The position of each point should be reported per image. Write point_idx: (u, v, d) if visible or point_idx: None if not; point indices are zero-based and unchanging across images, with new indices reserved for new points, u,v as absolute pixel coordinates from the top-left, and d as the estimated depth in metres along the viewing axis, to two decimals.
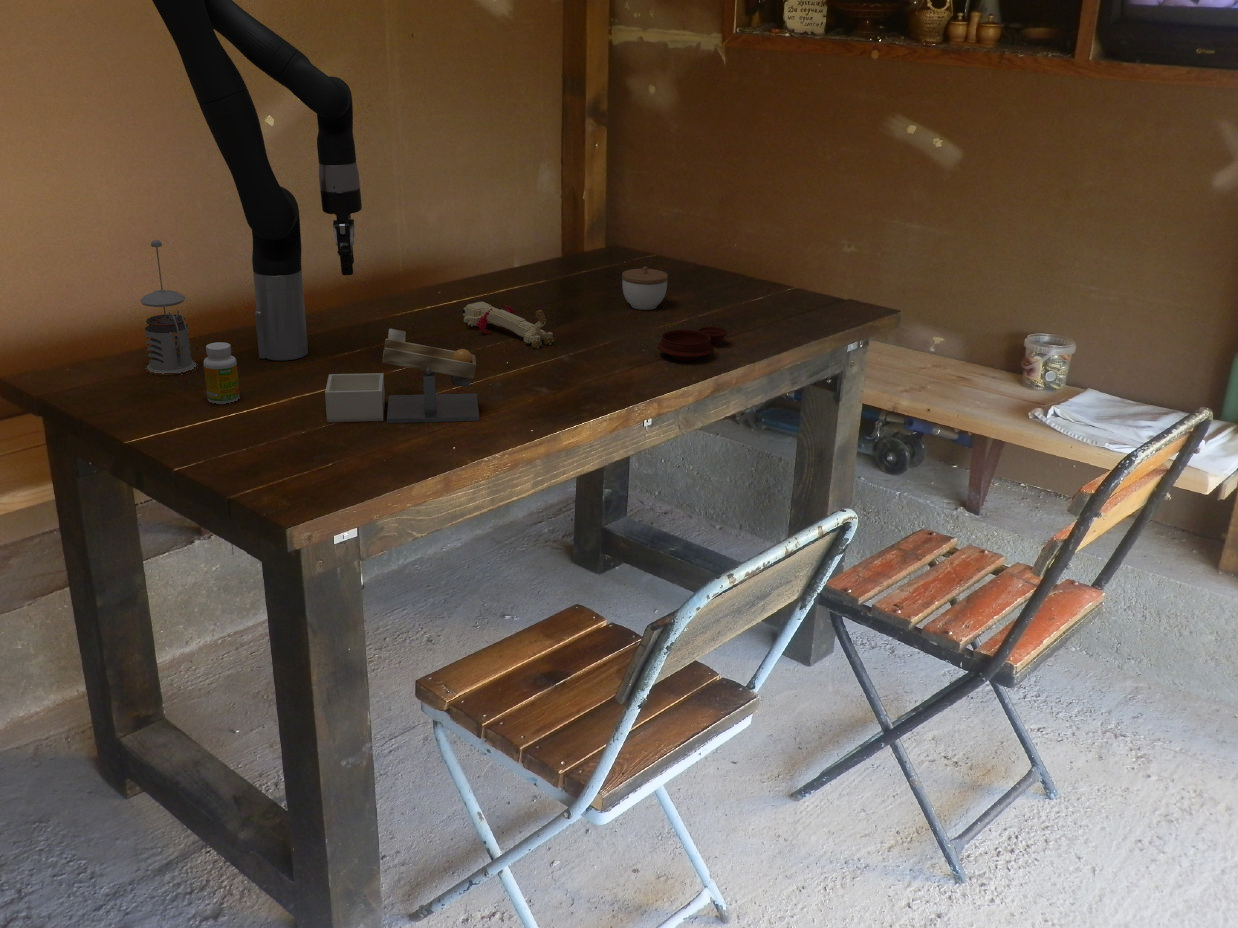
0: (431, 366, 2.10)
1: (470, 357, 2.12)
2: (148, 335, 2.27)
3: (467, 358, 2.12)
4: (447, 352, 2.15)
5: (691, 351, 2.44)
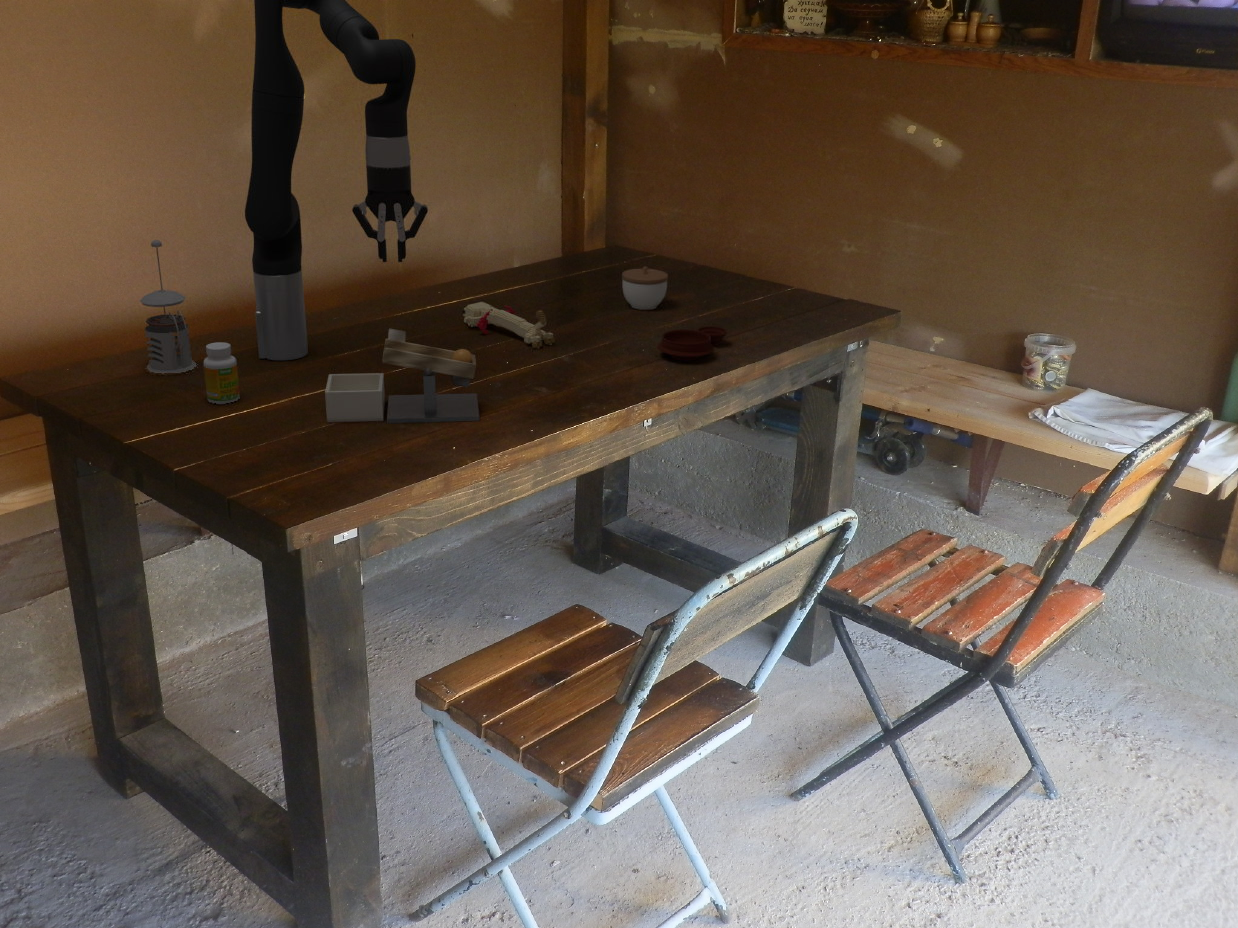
0: (431, 366, 2.10)
1: (470, 357, 2.12)
2: (148, 335, 2.27)
3: (467, 358, 2.12)
4: (447, 352, 2.15)
5: (692, 351, 2.44)
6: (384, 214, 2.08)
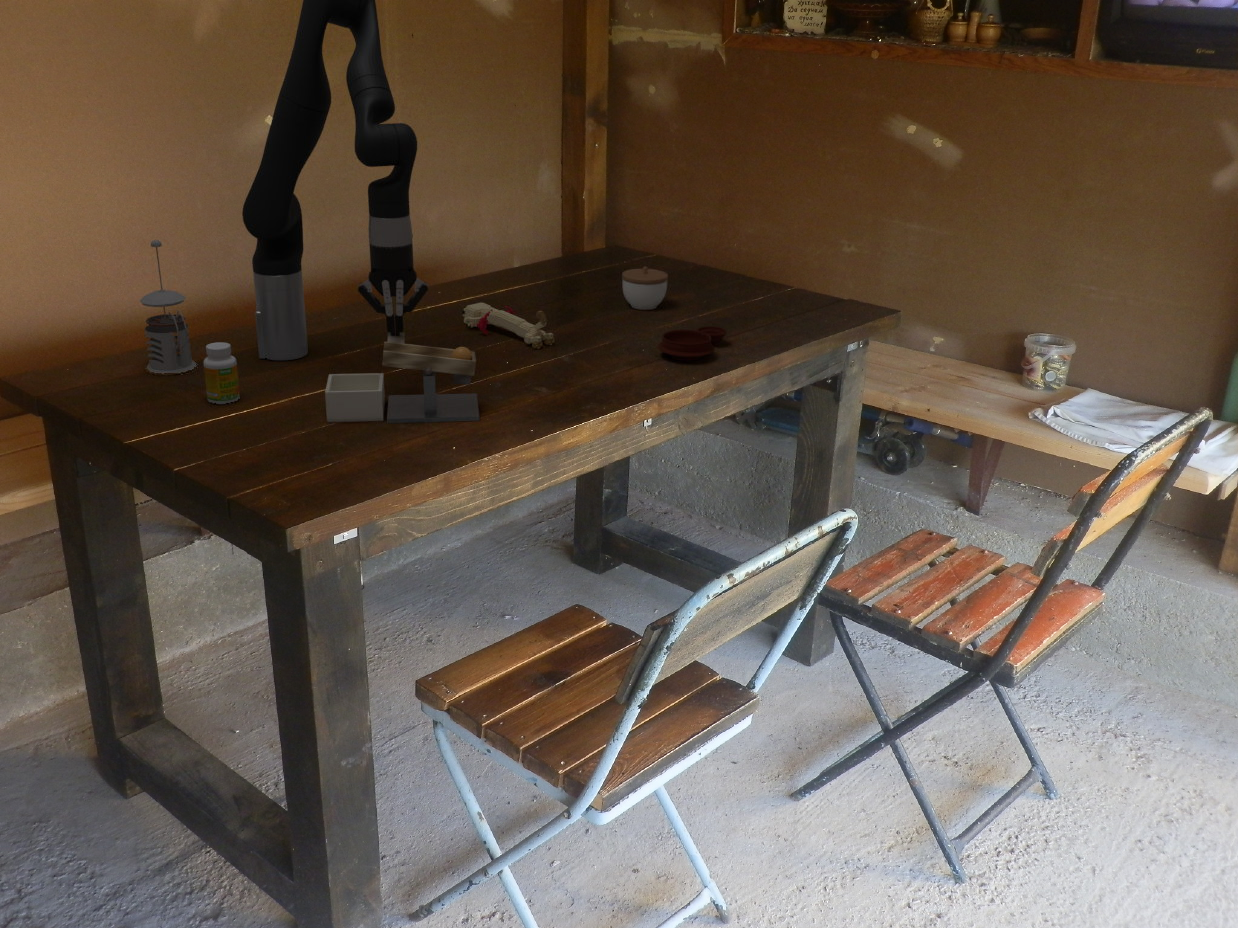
0: (431, 366, 2.10)
1: (469, 354, 2.12)
2: (148, 335, 2.27)
3: (466, 355, 2.12)
4: (446, 351, 2.15)
5: (692, 351, 2.44)
6: (388, 290, 2.14)
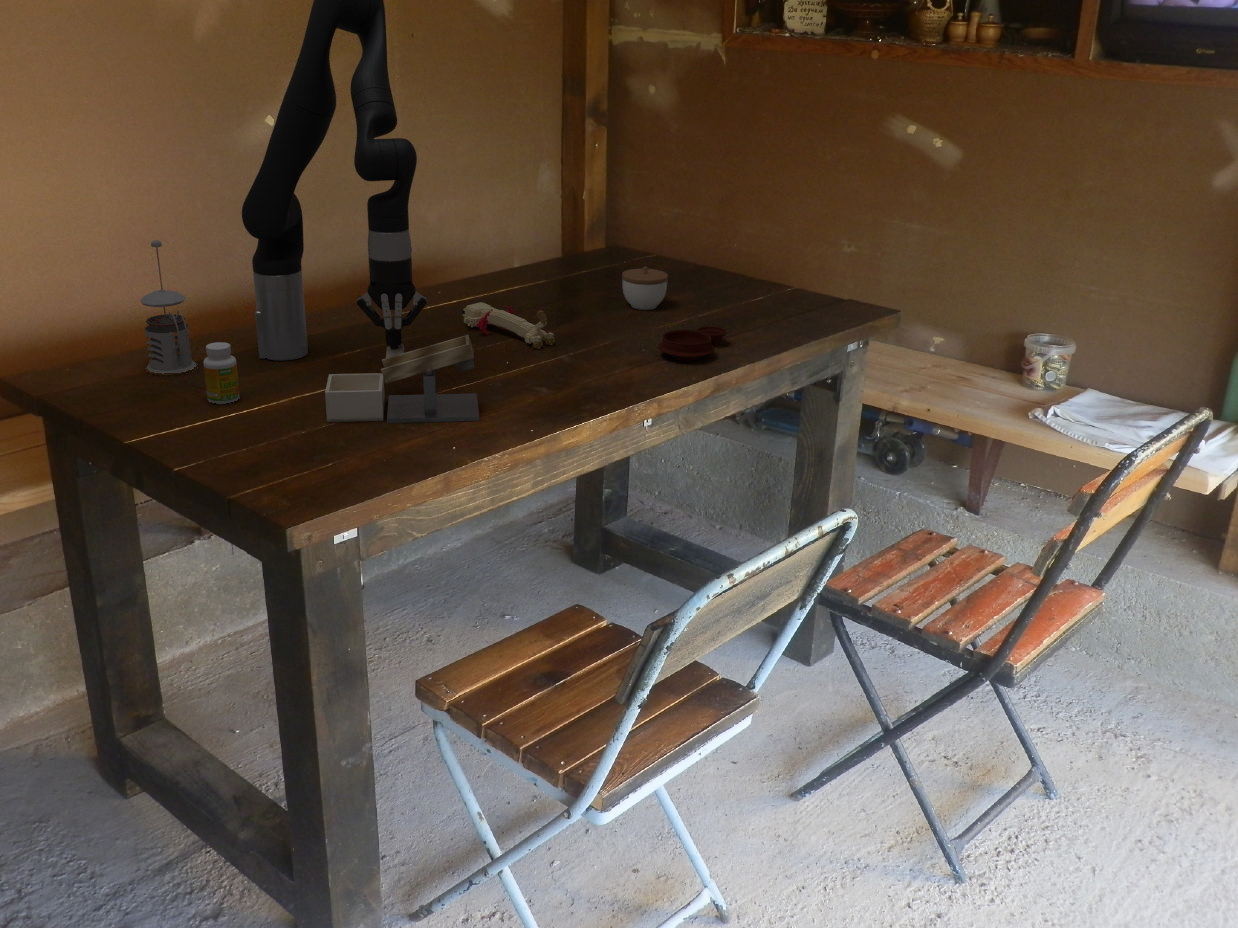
0: (430, 365, 2.10)
1: None
2: (148, 335, 2.27)
3: None
4: (442, 344, 2.14)
5: (693, 351, 2.44)
6: (387, 303, 2.15)
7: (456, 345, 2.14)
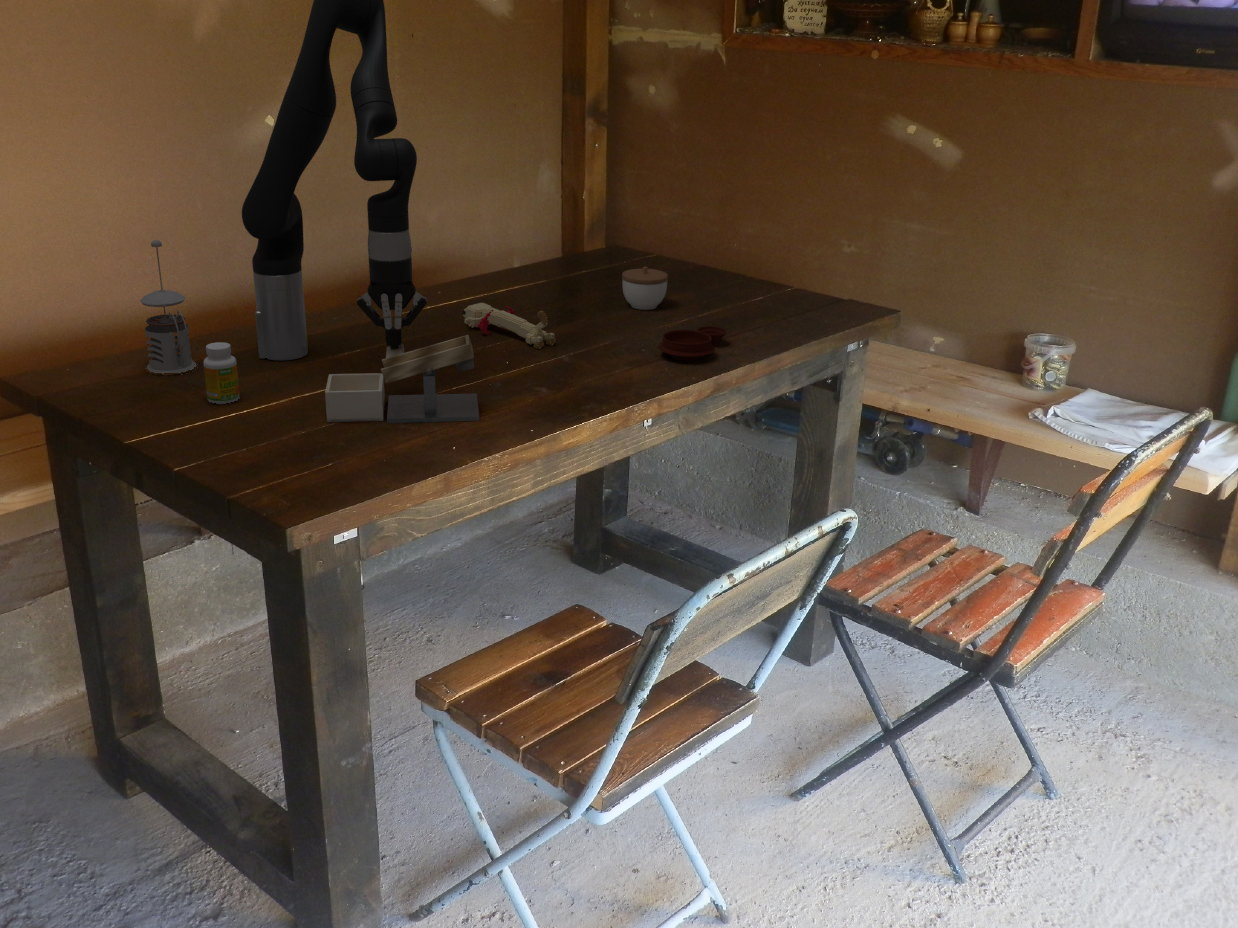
0: (430, 365, 2.10)
1: None
2: (148, 335, 2.27)
3: None
4: (442, 344, 2.14)
5: (693, 351, 2.44)
6: (387, 303, 2.15)
7: (456, 345, 2.14)
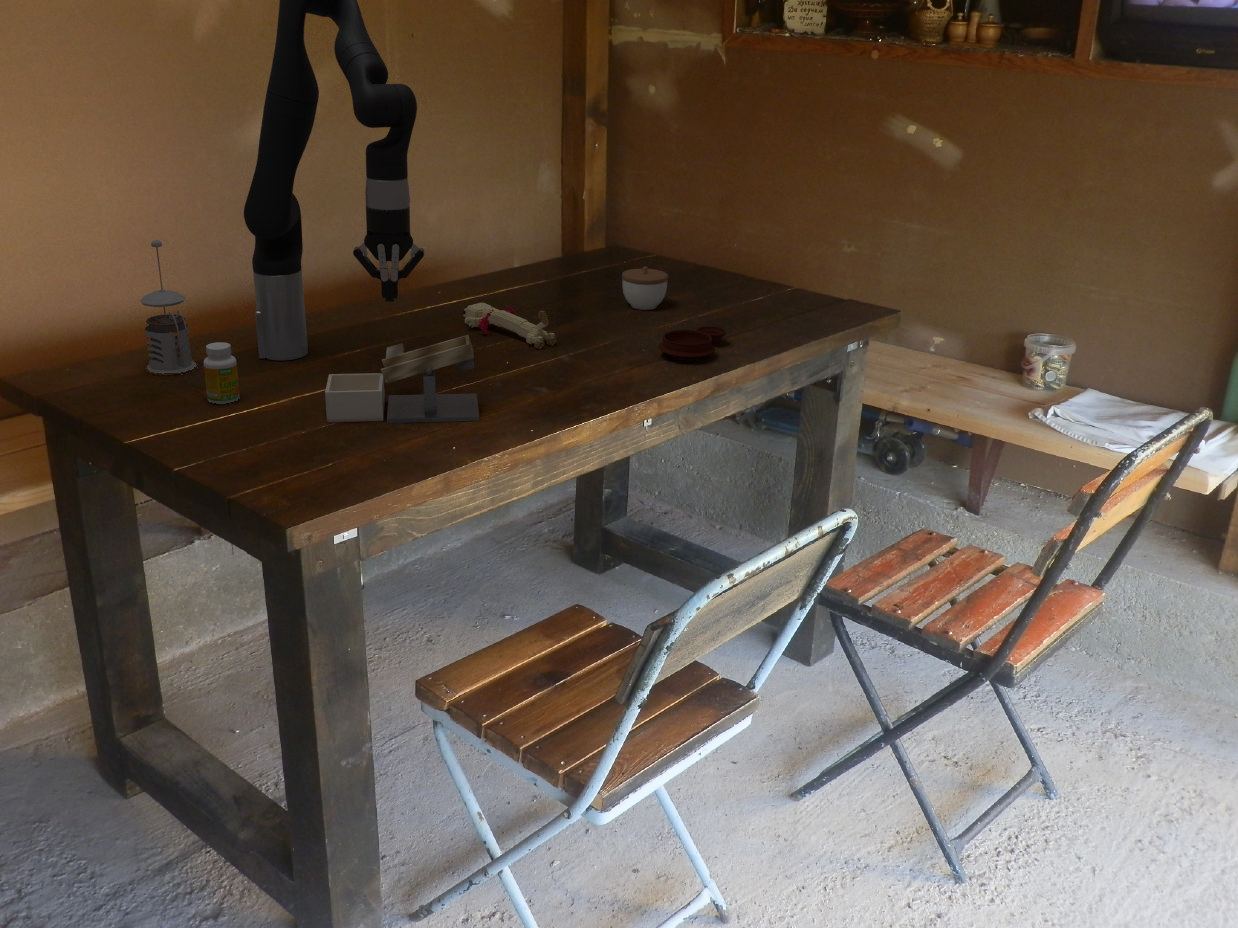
0: (430, 365, 2.10)
1: None
2: (148, 335, 2.27)
3: None
4: (442, 344, 2.14)
5: (693, 351, 2.44)
6: (384, 254, 2.11)
7: (456, 345, 2.14)
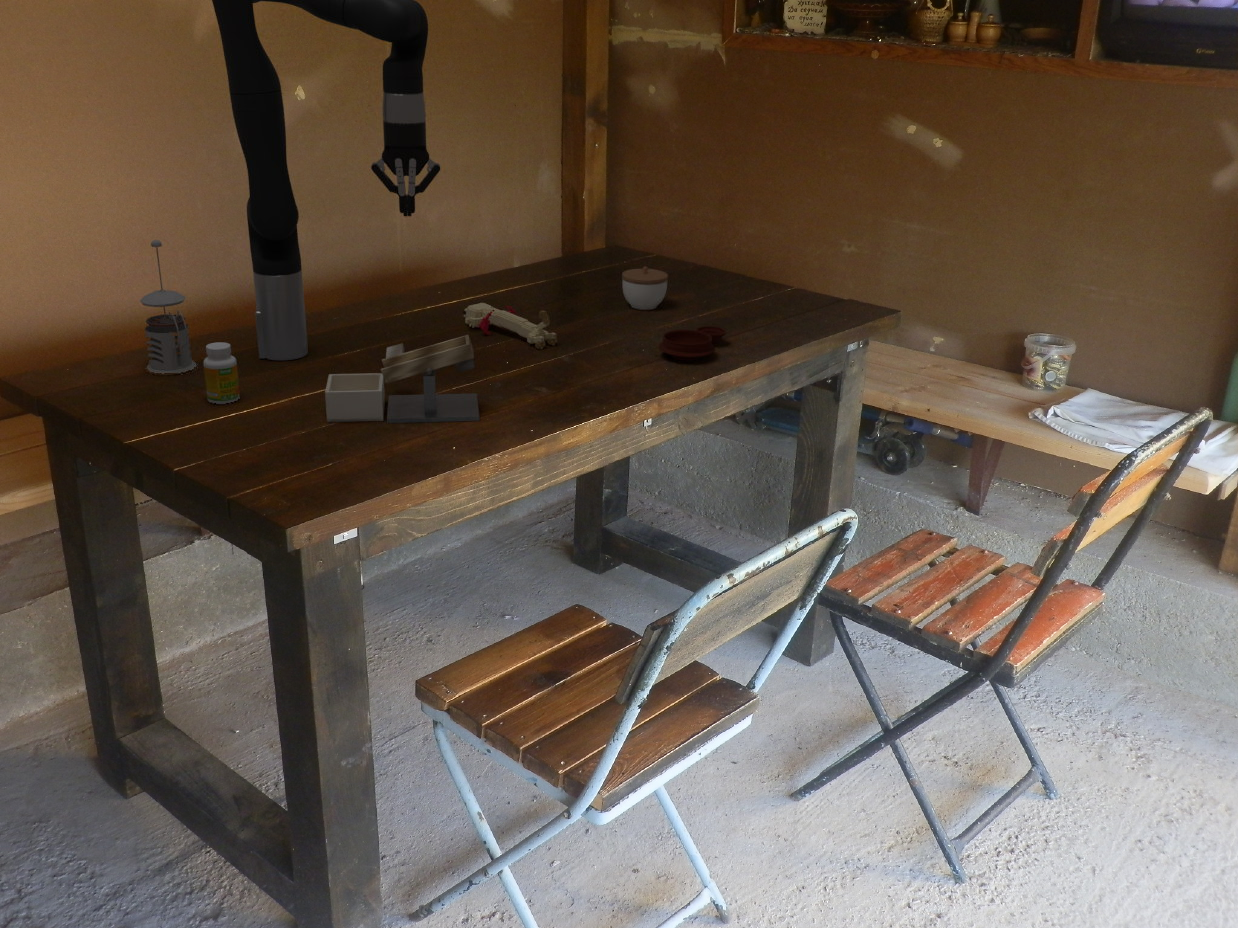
0: (430, 365, 2.10)
1: None
2: (148, 335, 2.27)
3: None
4: (442, 344, 2.14)
5: (694, 351, 2.44)
6: (401, 169, 2.16)
7: (456, 345, 2.14)
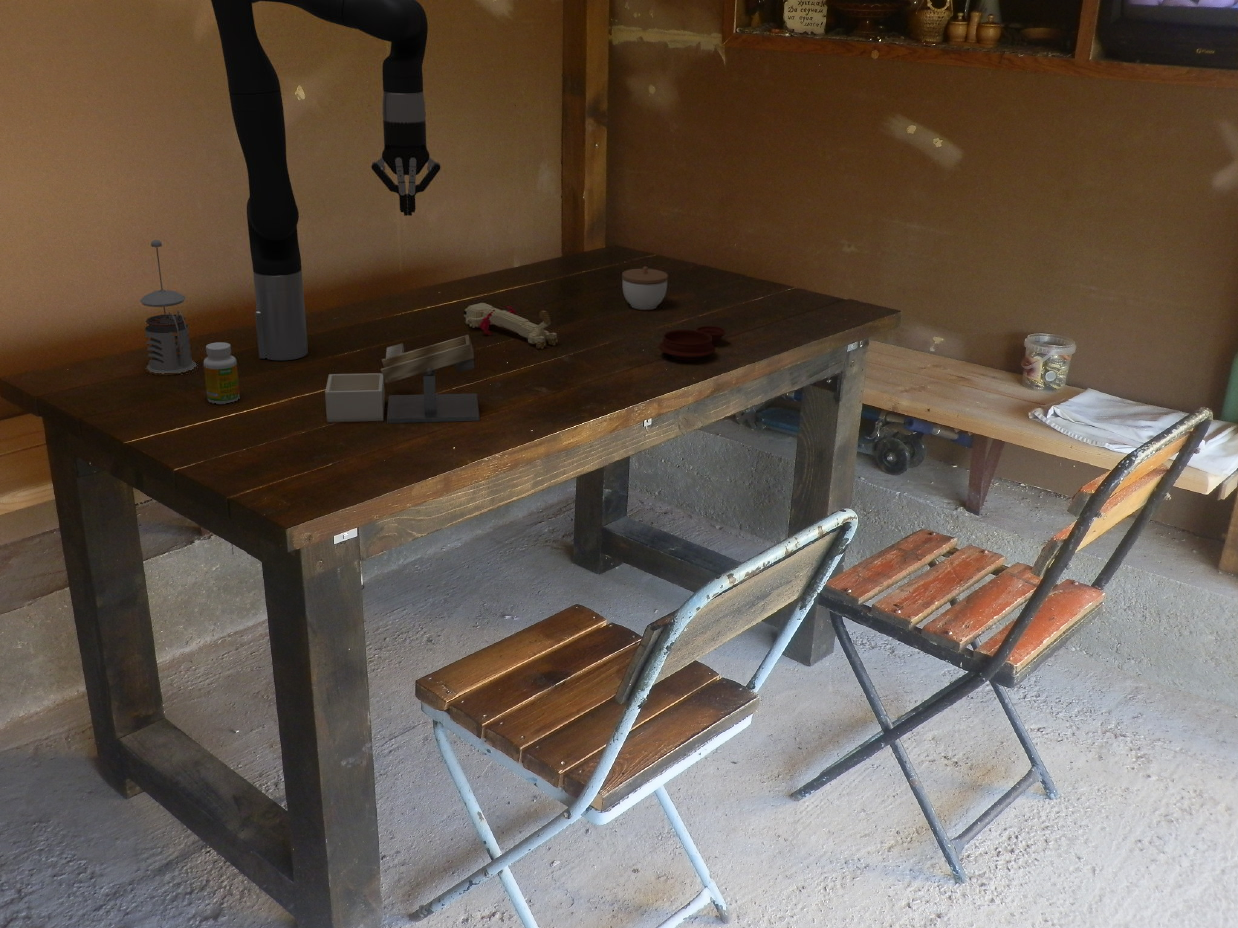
0: (430, 365, 2.10)
1: None
2: (148, 335, 2.27)
3: None
4: (442, 344, 2.14)
5: (694, 351, 2.44)
6: (401, 168, 2.17)
7: (456, 345, 2.14)
